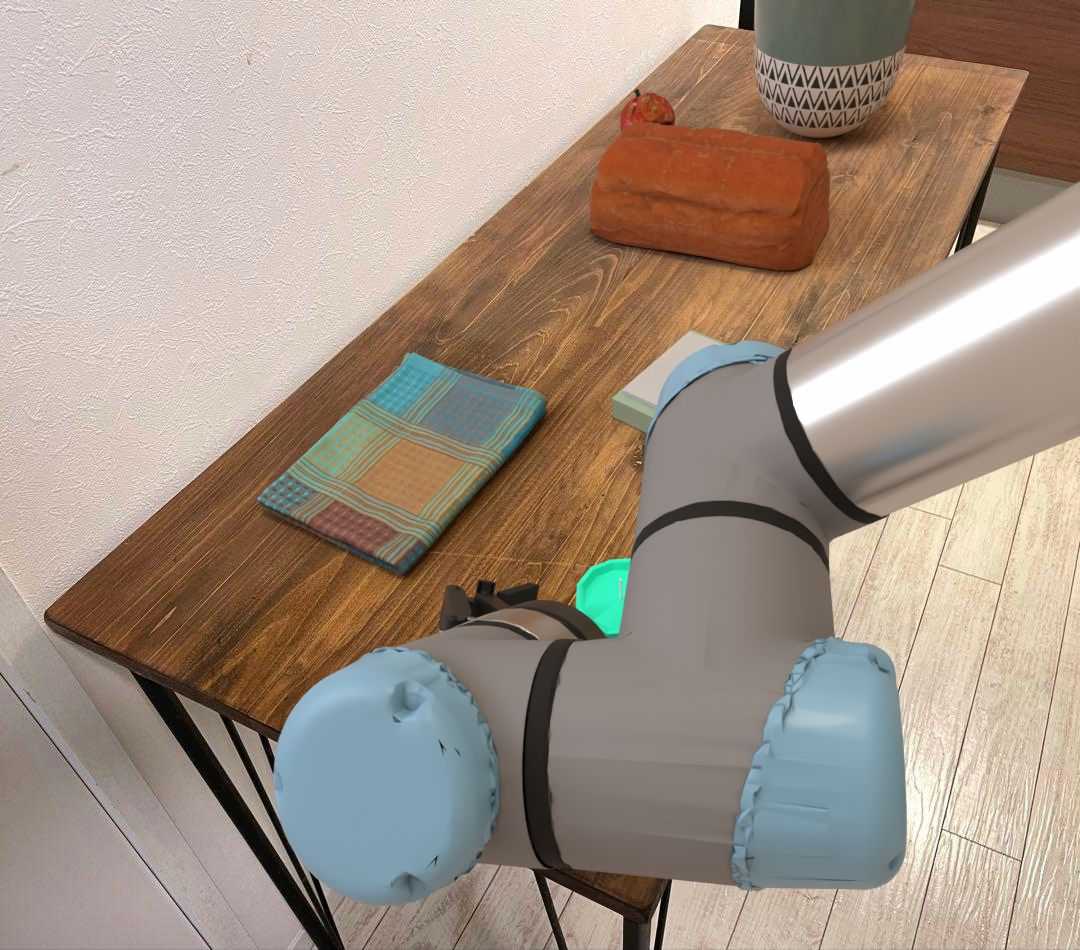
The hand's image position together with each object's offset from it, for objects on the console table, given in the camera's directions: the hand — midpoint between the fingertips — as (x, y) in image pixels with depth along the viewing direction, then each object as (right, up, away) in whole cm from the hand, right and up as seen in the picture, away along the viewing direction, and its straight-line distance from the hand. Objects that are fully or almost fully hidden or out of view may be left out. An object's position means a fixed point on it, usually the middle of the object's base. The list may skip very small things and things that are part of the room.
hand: (624, 625), depth 62 cm
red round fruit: (+9, +55, +64) cm, 85 cm away
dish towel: (-18, +11, +23) cm, 31 cm away
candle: (0, -5, +4) cm, 6 cm away
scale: (+10, +17, +24) cm, 31 cm away
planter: (+32, +58, +63) cm, 91 cm away
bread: (+14, +40, +47) cm, 63 cm away
